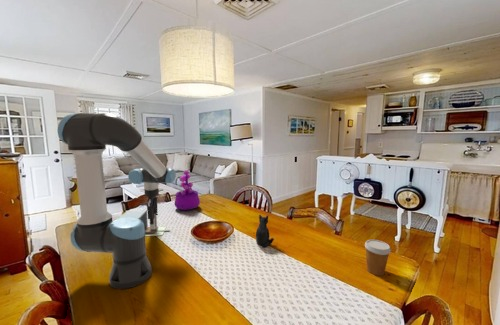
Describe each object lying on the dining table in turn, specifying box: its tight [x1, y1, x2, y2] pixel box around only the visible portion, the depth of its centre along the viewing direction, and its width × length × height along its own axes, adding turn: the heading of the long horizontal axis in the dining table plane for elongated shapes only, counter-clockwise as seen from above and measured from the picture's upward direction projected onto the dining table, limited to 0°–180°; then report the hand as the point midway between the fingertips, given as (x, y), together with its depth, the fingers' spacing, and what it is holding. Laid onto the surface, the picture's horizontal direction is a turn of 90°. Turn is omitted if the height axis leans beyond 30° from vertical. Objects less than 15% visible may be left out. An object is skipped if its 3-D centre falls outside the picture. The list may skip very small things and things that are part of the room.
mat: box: [145, 226, 168, 237], centre depth 134 cm, size 11×10×1 cm
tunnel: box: [117, 209, 171, 233], centre depth 132 cm, size 14×33×11 cm, turn 97°
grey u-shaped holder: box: [140, 213, 159, 234], centre depth 132 cm, size 7×16×10 cm, turn 97°
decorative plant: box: [174, 169, 201, 211], centre depth 173 cm, size 19×18×30 cm
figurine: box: [255, 214, 275, 248], centre depth 118 cm, size 10×10×15 cm
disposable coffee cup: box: [364, 239, 392, 277], centre depth 95 cm, size 10×10×12 cm
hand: (153, 227), depth 133 cm, fingers closed on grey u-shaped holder, 3 cm apart
